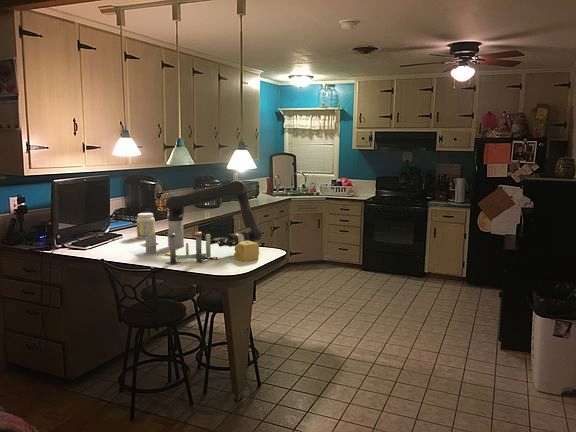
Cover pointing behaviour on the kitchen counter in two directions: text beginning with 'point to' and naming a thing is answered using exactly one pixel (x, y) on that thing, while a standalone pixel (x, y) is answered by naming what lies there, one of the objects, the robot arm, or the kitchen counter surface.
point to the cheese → (246, 251)
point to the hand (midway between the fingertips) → (214, 243)
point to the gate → (187, 256)
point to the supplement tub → (145, 225)
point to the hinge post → (172, 250)
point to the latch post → (198, 247)
